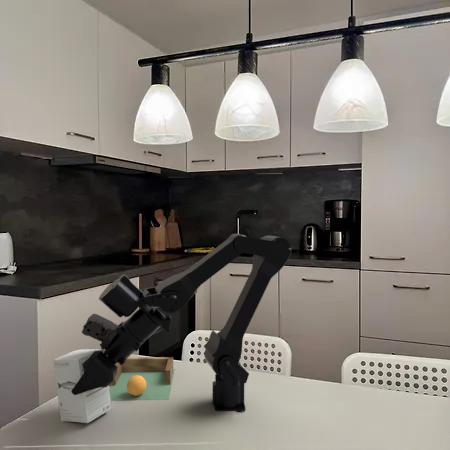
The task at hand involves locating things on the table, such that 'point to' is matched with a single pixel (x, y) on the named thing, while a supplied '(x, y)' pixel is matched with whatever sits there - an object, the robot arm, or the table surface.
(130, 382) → the ball
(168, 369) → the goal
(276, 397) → the table surface
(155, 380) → the pitch mat
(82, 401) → the supplement box
